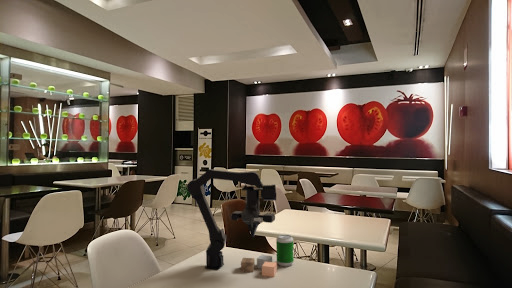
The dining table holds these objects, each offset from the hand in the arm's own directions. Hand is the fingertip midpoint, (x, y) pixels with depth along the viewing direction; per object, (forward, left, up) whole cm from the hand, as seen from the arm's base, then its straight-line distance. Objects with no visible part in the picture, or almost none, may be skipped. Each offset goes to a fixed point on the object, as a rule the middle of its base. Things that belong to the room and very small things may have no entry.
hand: (252, 236), depth 132 cm
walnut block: (-1, -4, -13) cm, 14 cm away
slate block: (+5, +1, -13) cm, 14 cm away
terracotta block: (+9, -6, -13) cm, 17 cm away
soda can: (+13, +6, -13) cm, 19 cm away
